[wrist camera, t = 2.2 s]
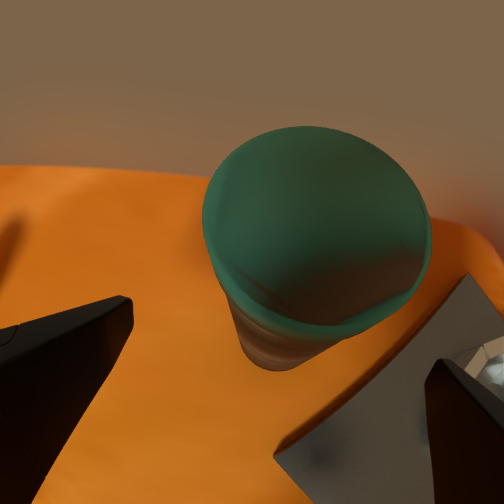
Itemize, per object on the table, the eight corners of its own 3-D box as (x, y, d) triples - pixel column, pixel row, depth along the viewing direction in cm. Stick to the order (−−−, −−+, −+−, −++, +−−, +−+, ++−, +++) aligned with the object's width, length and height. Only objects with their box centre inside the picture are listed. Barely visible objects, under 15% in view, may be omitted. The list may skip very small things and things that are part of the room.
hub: (546, 410, 14) (571, 407, 11) (401, 579, 10) (418, 596, 7) (461, 277, 19) (484, 260, 16) (272, 454, 15) (276, 467, 12)
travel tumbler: (333, 339, 17) (466, 234, 6) (270, 389, 16) (309, 389, 5) (284, 280, 19) (326, 103, 7) (221, 325, 18) (159, 190, 6)
